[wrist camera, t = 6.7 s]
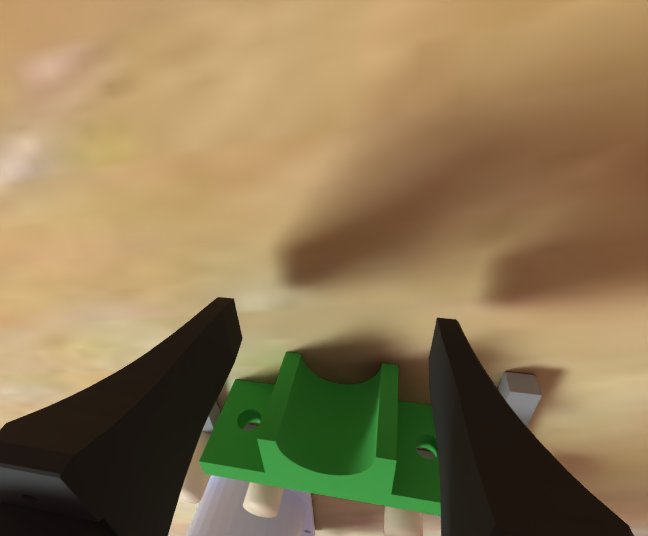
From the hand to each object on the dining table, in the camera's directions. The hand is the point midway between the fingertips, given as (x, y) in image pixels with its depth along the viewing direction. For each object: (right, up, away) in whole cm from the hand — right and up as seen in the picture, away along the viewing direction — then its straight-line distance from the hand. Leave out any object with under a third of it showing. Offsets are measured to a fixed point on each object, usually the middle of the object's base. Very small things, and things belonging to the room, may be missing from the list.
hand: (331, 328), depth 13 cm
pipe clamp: (+1, -3, +5) cm, 6 cm away
